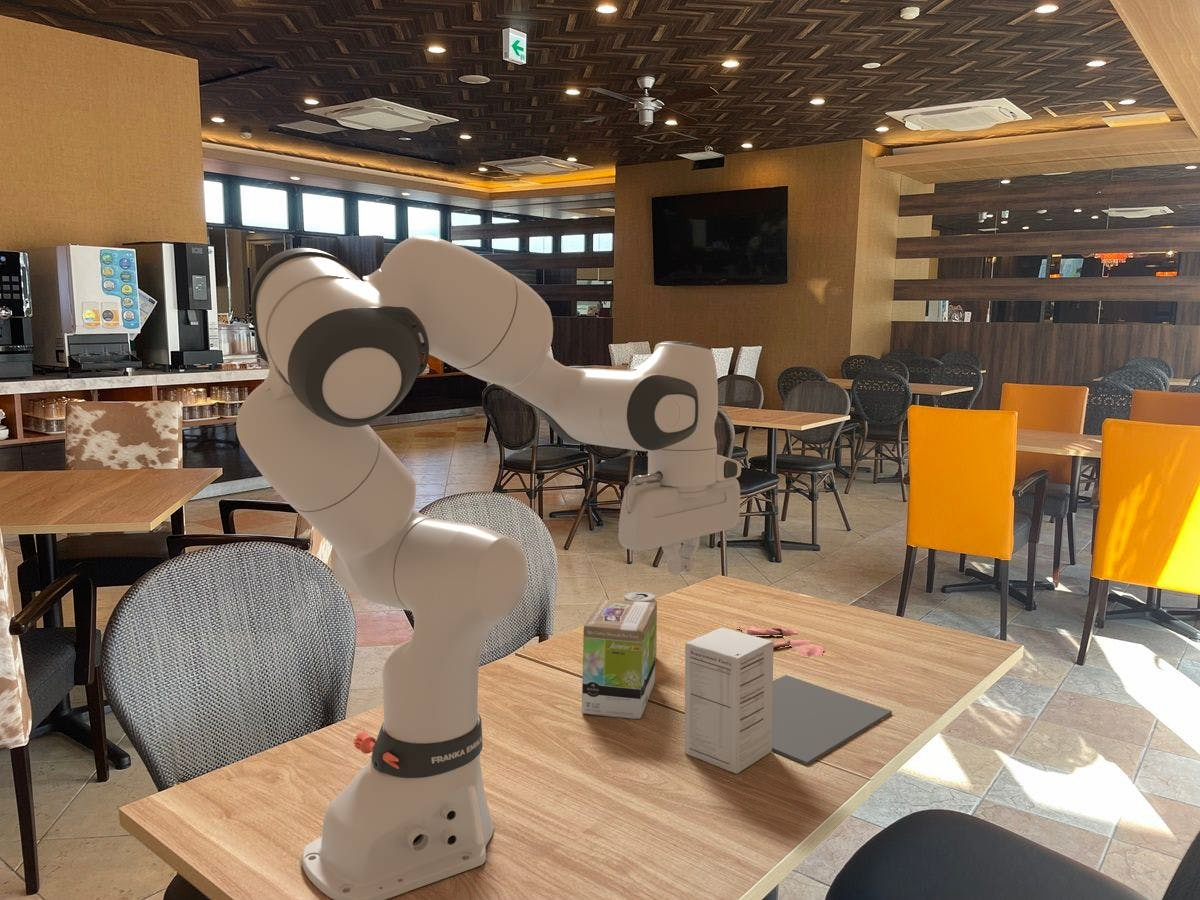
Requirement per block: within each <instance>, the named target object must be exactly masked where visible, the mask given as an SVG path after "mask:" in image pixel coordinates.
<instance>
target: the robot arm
mask: <svg viewBox="0 0 1200 900" xmlns="http://www.w3.org/2000/svg"><path fill="white" fill-rule="evenodd" d="M260 267H261V268H260V269H259V270H258V272H257V274H256V275H255V278H254V280H253V284H252V288H251V296H250V297H251V300H250V306H251V307H250V308H251V317H252V323H253V328H254V334H255V335H254V336H255V342H256V347H257V349H256V350H257V354H258V356H259V357H260V358H261V359H262V360H263V361H265V362H266V363H268V375H267V377H266V379H265V380H264V381H263V382H262V383H260V384H259V385H258V386H257V387H256V388H255V389H253V390H252V391H251V392H250V393H249V395H248V396H247V397H246V398H245V400H244V401H243V402H242V405H241V406H240V408H239V410H238V413H237V417H236V422H235V427H236V436H237V438H238V441H239V443H240V445H241V447H242V448H243V449H244V451H245V453H246V455H247V456H248V458H249V459H250V461H251V462H252V463H253V465H254V466H255V468H256V469H257V471H259V473H260V474H261V475H262V476H263V478H264V479H265V480H266V481H267V482H268V484H269V485H270V486H271V487H272V488H273V489H274V490H275V492H276V493H277V494H278V495H279V496H280V497H281V498H282V499H283V500H284V501H285V502H286V503H287V504H288V505H290V507H292V508H293V509H294V511H295V512H297V513H298V514H299V515H300V516H301V517H302V518H303V519H305V521H306V522H307V523H309V525H311V526H312V527H313V528H314V529H315V530H316V531H317V532H318V533H319V534H320V535H321V536H322V537H323V538H325V540H326V541H327V542H328V544H330V545H331V554H330V563H331V565H330V566H331V570H332V574H333V576H334V579H335V580H336V582H337V583H338V584H339V585H340V586H341V587H342V588H344V589H345V590H347V591H349V592H351V593H352V594H354V595H355V596H358V597H360V598H361V599H363V600H366V601H368V602H371V603H373V604H377V605H381V606H384V607H385V606H386V607H391V608H395V609H400V610H405V611H408V612H412V616H413V620H414V624H413V632H412V636H411V639H409V640H406V641H405V642H403V643H402V644H400V645H398V646H397V647H396V648H395V649H394V650H393V651H392V652H391V653H390V654H389V656H388V657H387V659H386V660H385V661H384V664H383V667H382V671H381V672H382V673H381V674H382V697H383V698H382V699H383V702H382V703H383V723H382V724H381V726H380V730H379V732H378V736H377V737H376V738H374V736H370V735H369V733H367V732H365V731H362V732H359V733H357V734H356V736H355V738H354V739H353V741H354V742H353V747H355V749H357V750H359V751H360V752H361V753H362V754H365V755H366V754H367V755H368V754H370V753H372V754H371V759H370V760H369V761H368V762H367V764H366V765H365V766H364V767H363V768H362V769H361V770H359V772H358V773H357V774H356V775H355V777H354V778H353V779H351V780H350V781H349V783H348V784H347V785H346V786H345V787H344V788H343V789H342V790H341V791H340V792H339V794H337V795H336V796H335V797H334V798H333V799H332V801H330V802H329V804H328V806H327V808H326V811H325V814H324V818H323V823H322V830H321V831H322V832H321V836H320V837H318V838H316V839H314V840H313V841H311V842H309V843H308V844H306V845H305V846H304V847H303V850H302V857H301V858H302V859H301V861H302V862H301V863H302V869H303V872H304V873H305V876H306V877H307V878H308V879H309V880H310V882H311V883H312V884H313V885H314V886H315V887H316V888H317V889H318V890H320V892H321V893H323V894H324V895H326V896H327V897H329V898H330V899H332V900H387V899H391V898H393V897H396V896H399V895H402V894H404V893H407V892H410V891H413V890H417V889H419V888H421V887H424V886H426V885H429V884H430V885H431V884H433V883H435V882H439V881H441V880H444V879H446V878H449V877H453V876H455V875H458V874H460V873H463V872H466V871H469V870H472V869H474V868H477V867H480V866H482V865H484V863H485V862H486V860H487V850H486V847H487V845H488V843H489V841H490V840H491V838H492V836H493V833H494V828H495V826H494V825H495V824H494V820H493V817H492V815H491V812H490V809H489V805H488V801H487V795H486V791H485V786H484V781H483V773H482V766H481V765H482V764H481V752H482V750H483V745H484V744H483V725H482V717H481V715H480V714H479V706H478V705H479V666H480V661H481V655H482V651H483V648H484V645H485V642H486V640H487V639H488V636H489V635H490V633H491V632H492V630H493V629H494V628H495V626H497V624H498V623H500V622H501V621H504V619H506V618H507V617H509V616H510V615H511V614H512V613H513V612H514V611H515V610H516V608H517V607H518V606H519V604H520V602H521V601H522V598H524V595H525V593H526V588H527V586H528V579H529V578H528V576H529V575H528V574H529V569H528V563H527V558H526V555H525V553H524V551H523V549H522V547H521V545H520V544H519V543H518V541H516V540H515V539H514V538H511V537H510V536H507V535H505V534H503V533H501V532H498V531H496V530H493V529H491V528H489V527H486V526H483V525H480V524H473V523H467V522H466V523H465V522H459V521H453V520H446V519H440V518H435V517H431V516H427V515H426V514H423V513H421V512H419V511H417V510H415V509H414V507H415V502H416V495H417V493H416V491H417V487H416V483H415V479H414V477H413V475H412V473H411V472H410V471H409V469H408V468H407V467H406V466H405V465H404V464H403V463H402V461H401V460H400V459H399V458H398V457H397V455H396V454H395V453H394V452H393V451H392V450H391V449H390V447H389V446H388V445H387V444H386V443H385V442H384V441H383V439H382V438H381V437H380V436H379V435H378V434H377V433H376V432H375V430H374V429H373V428H372V426H370V424H372V423H376V421H379V420H381V419H382V418H384V417H386V416H388V415H389V414H390V413H391V412H392V411H393V410H394V409H396V407H397V406H399V404H401V402H402V401H403V400H404V398H405V397H406V396H407V395H408V394H409V392H410V390H411V389H412V387H413V386H414V383H415V381H416V379H417V378H418V377H420V376H421V375H422V373H424V372H425V370H426V369H427V366H428V364H429V363H428V362H429V358H430V356H431V357H434V358H436V359H437V360H440V361H442V362H443V363H446V364H447V365H449V366H451V367H453V368H454V369H457V370H459V371H460V372H463V373H465V374H467V375H469V376H472V377H474V378H476V379H479V380H480V381H484V382H485V383H486V382H487V383H490V384H493V385H496V386H498V387H499V388H501V389H502V390H504V391H505V392H507V393H509V394H511V395H512V396H514V397H516V398H518V399H519V400H521V401H522V402H524V403H526V404H527V405H529V406H531V407H532V408H533V409H535V410H536V411H537V412H539V414H540V415H541V416H542V417H543V418H544V419H545V421H546V422H547V424H548V425H549V426H550V428H551V429H552V430H553V432H554V433H555V434H556V435H557V436H558V437H559V438H561V440H563V441H564V442H567V443H569V444H572V445H584V446H585V445H587V446H588V445H591V446H592V445H595V446H601V447H609V448H615V449H617V448H618V449H623V450H625V449H626V450H632V451H639V452H647V474H645V475H641V474H638V475H635V476H633V477H632V478H631V480H630V481H629V483H627V485H626V486H624V490H623V497H622V500H621V506H620V513H619V520H618V534H617V535H618V537H617V538H618V542H619V543H620V545H621V547H622V548H624V549H627V550H629V551H633V552H639V553H640V552H641V553H642V552H645V551H648V550H653V549H657V548H660V547H661V549H662V551H663V553H664V555H665V557H666V559H667V562H668V563H667V564H668V565H667V571H668V573H670V574H672V575H674V576H675V575H676V576H677V575H681V574H684V573H687V572H691V571H693V570H694V569H693V568H694V564H693V563H694V558H695V555H696V554H697V551H698V549H699V547H700V537H704V536H708V535H712V534H717V533H719V532H724V531H727V530H733V529H735V528H736V526H737V524H738V522H739V519H740V513H741V485H740V482H739V480H738V479H737V478H739V477H740V476H741V473H742V463H741V462H740V461H738V460H735V459H733V458H729V457H726V456H724V455H720V454H718V441H717V438H716V434H715V433H716V432H715V423H716V419H717V417H718V412H719V411H718V410H719V387H718V385H719V384H718V372H717V366H716V360H715V357H714V353H713V351H712V350H710V349H709V348H708V347H706V346H704V345H701V344H698V343H693V342H683V341H675V340H673V341H672V340H671V341H670V340H669V341H666V340H665V341H661V342H658V343H657V344H655V346H654V349H653V352H652V354H651V355H650V356H649V358H648V357H647V359H646V360H645V361H644V362H642V363H640V364H639V365H637V366H635V367H633V368H632V369H627V370H626V369H614V368H612V369H610V368H596V367H592V366H591V367H590V366H584V365H569V366H566V365H564V364H561V362H559V361H558V360H556V359H554V358H553V357H552V356H550V355H549V352H550V349H551V345H552V342H553V334H554V322H553V321H554V320H553V317H552V312H551V309H550V307H549V305H548V304H547V302H546V301H545V300H544V299H543V298H542V297H541V296H540V295H539V293H537V291H535V290H534V289H533V288H532V287H531V286H529V285H528V284H526V282H524V281H522V280H521V279H520V278H518V277H517V276H515V275H514V274H512V273H511V272H509V271H508V270H506V269H504V268H503V267H501V266H499V265H498V264H496V263H494V262H493V261H491V260H489V259H488V258H485V257H483V256H481V255H480V254H478V253H475V252H474V251H473V250H469V249H467V248H465V247H463V246H461V245H458V244H455V243H453V242H451V241H449V240H445V239H442V238H440V237H437V236H433V235H428V234H420V235H415V236H411V237H408V238H406V239H404V240H402V241H400V242H399V243H398V244H396V245H395V246H394V247H393V248H392V249H391V250H390V251H389V253H387V255H386V256H385V257H384V259H383V261H382V263H381V265H380V267H379V268H378V269H376V270H374V272H372V273H371V274H368V275H363V276H362V280H363V281H362V280H361V278H359V277H358V276H357V274H355V272H354V271H353V269H352V268H351V267H350V266H349V265H347V263H345V262H344V261H343V260H341V259H340V258H337V257H336V256H334V255H332V254H330V253H328V252H326V251H323V250H320V249H316V248H310V247H297V248H295V247H294V248H290V249H286V250H283V251H280V252H279V253H277V254H275V255H273V256H272V257H270V258H268V260H266V262H264V263H263V265H262V266H260ZM423 354H424V355H423ZM422 355H423V356H424V357H423V361H422ZM421 362H422V363H421ZM682 544H683V545H682ZM679 550H681V551H680V552H679Z"/></svg>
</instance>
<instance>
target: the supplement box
mask: <svg viewBox="0 0 1200 900" xmlns="http://www.w3.org/2000/svg"><path fill="white" fill-rule="evenodd" d="M774 642H775V641H773V640H770V639H767V638H763V637H757V636H752V635H748V634H744V633H742V631H741V632H740V631H736V630H733V629H729V628H725V627H720V628H717V629H714V630H712V631H709V632H708V633H705V634H703V635H701V636H698V637H696V638H693V639H691V640H689V641H687V642H685V649H684V653H685V654H684V660H685V661H684V667H685V668H684V754H685V755H689V756H691V757H694V758H697V759H698V760H701V761H703V762H706V763H708V764H711V765H713V766H715V767H718V768H719V769H720V768H721V769H723V770H725V771H728V772H731V773H733V774H736V775H737V774H739V773H741V772H742V771H743V770H745V769H746V768H749V767H750V766H751V765H753V764H755V763H756V762H757V761H759V760H761V759H762V758H764V757H765V756H766V757H767V755H769V754H771V753H772V752H773V751H772V703H773V681H774V650H773V646H774Z"/></svg>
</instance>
